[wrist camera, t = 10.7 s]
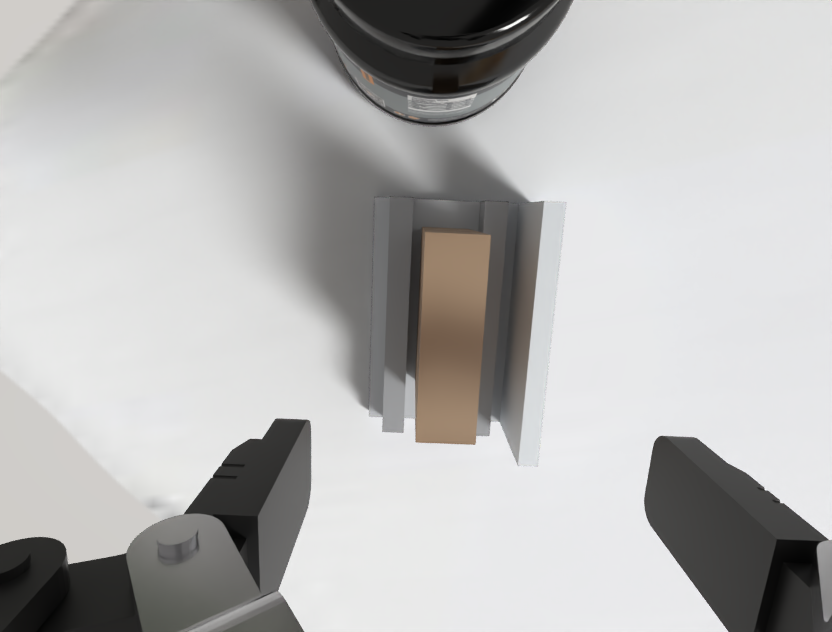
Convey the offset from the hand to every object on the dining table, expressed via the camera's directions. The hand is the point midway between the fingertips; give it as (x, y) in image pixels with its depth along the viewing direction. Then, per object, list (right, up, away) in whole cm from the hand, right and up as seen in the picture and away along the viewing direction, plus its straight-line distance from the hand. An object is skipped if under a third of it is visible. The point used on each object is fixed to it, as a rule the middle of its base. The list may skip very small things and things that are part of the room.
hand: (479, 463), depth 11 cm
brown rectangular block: (0, +4, +17) cm, 17 cm away
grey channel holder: (0, +4, +17) cm, 18 cm away
